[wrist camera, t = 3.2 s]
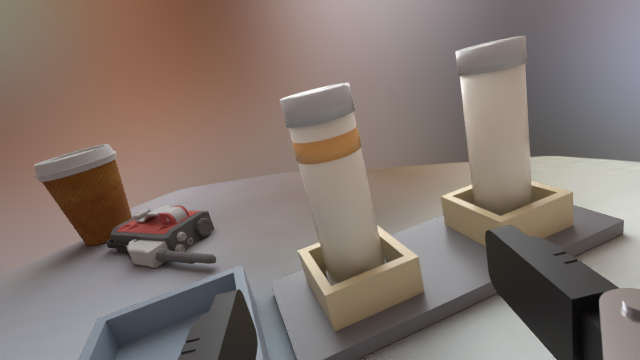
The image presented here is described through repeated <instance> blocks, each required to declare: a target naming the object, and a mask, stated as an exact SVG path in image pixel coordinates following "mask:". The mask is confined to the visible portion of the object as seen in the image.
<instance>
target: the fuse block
mask: <svg viewBox="0 0 640 360" xmlns="http://www.w3.org/2000/svg"><path fill="white" fill-rule="evenodd" d="M531 185H532V203H531V204H529V205H526V206H524V207H521V208H519V209H517V210H514V211H512V212H509V213H507V214H504V215H502V216H499V215H497V214H495V213H492V212H490V211H487V210H485V209H483V208H480V207H478V206H475V205H474V200H473V191H472V185H470V186H467V187H464V188H462V189H459V190H456V191H454V192H451V193H449V194H446V195H443V196H441V200H442V208H443V215H441V216H438V217H436V218H433V219H431V220H428V221H426V222H423V223H421V224H418V225H416V226H413V227H411V228H408V229H405V230H403V231H400V232H398V233H395V234H393V235H389V234H388V233H387V232H386V231H384V230H383V229H382V228H380V227H379V226H378V225H377V227H378V232H379V237H380V242H381V247H382V252H383V256H384V258H385V259H386V264H384V265H381V266H379V267H376V268H374V269H371V270H369V271H367V272H364V273H362V274H359V275H357V276H355V277H352V278H350V279H347V280H345V281H342V282H340V283H338V284H335V285H333V286H331V285H330V283H329V282H328V278H327V274H326V270H327V269H326V265H325V261H324V258H323V254H322V250H321V246H320V243H317V244H314V245H311V246H309V247H306V248H303V249H301V250H298V253H299V256H300V260H301V263H302V266H303V270H301V271H299V272H296V273H294V274H291V275H289V276H286V277H284V278H281V279H279V280H276V281H273V282H271V283H270V284H271V287H272V290H273V293H274V296H275V299H276V301H277V304H278V307H279V310H280V313H281V316H282V319H283V321H284V324H285V327H286V330H287V333H288V336H289V339H290V341H291V344H292V347H293V350H294V353H295V356H296V358H297V360H358V359H360V358H362V357H364V356H366V355H368V354H370V353H372V352H374V351H377V350H379V349H381V348H383V347H385V346H387V345H389V344H391V343H393V342H396V341H398V340H400V339H402V338H404V337H406V336H408V335H410V334H412V333H414V332H417V331H419V330H421V329H423V328H425V327H427V326H429V325H431V324H433V323H436V322H438V321H440V320H442V319H444V318H446V317H448V316H450V315H452V314H454V313H457V312H459V311H461V310H463V309H465V308H467V307H469V306H471V305H473V304H476V303H478V302H480V301H482V300H484V299H486V298H488V297H490V296H492V295H495V294H497V291H496V290H495V288H494V286H493V284H492V282H491V280H490V277H489V272H488V262H487V252H486V242H485V233H486V231H487V230H490V229H494V228H499V227H503V226H507V225H513V226H515V227H516V228H518V229H519V230H520V231H522V232H523V233H524V234H526V235H527V236H528V237H531V236H536V237H539V238H542V239H545V240H548V241H551V242H553V243H554V244H556V245H557V246H559V247H560V248H562V249H563V250H564V251H566V253H569V254H570V255H572V256H573V257H575V256H577V255H579V254H581V253H583V252H585V251H587V250H589V249H591V248H594V247H596V246H598V245H600V244H602V243H604V242H606V241H608V240H610V239H612V238H615V237H617V236H619V235H621V234H623V226H624V220H621V219H618V218H615V217H611V216H608V215H605V214H601V213H598V212H595V211H592V210H588V209H585V208H582V207H578V206H575V205H573V192H571V191H567V190H563V189H560V188H556V187H552V186H548V185H545V184H541V183H537V182H534V181H531Z"/></svg>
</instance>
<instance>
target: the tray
mask: <svg viewBox="0 0 640 360" xmlns="http://www.w3.org/2000/svg"><path fill="white" fill-rule="evenodd" d="M238 289H239V290H241V291H242V293H243V295H244V298H245V301H246V303H247V306H248V309H249V312H250V314H251V317H252V320H253V323H254V325H255V328H256V333H257V340H258V347H257V355H256V360H269V357H268V353H267V349H266V345H265V341H264V337H263V333H262V329H261V325H260V321H259V316H258V312H257V308H256V304H255V300H254V297H253V294H252V291H251V288H250V285H249V283H248V280H247V277H246V274H245V271H244V268H243V266H242V265H239V266H237V267H234V268H231V269H229V270H226V271H223V272H221V273H218V274H215V275H213V276H210V277H207V278H205V279H202V280H199V281H197V282H194V283H191V284H189V285H186V286H183V287H181V288H178V289H175V290H173V291H170V292H167V293H165V294H162V295H159V296H157V297H154V298H151V299H149V300H146V301H143V302H141V303H138V304H135V305H133V306H130V307H127V308H125V309H122V310H119V311H117V312H114V313H111V314H108V315H106V316H103V317H100V318H98V319H97V321H96V323H95V325H94V327H93V329H92V331H91V334H90V336H89V338H88V340H87V342H86V344H85V346H84V348H83V351H82V353H81V355H80V357H79V359H78V360H178V358H179V356H180V355H181V350H182V348H183V346H184V344H186V342H185V341H186V338H187V336H188V334H189V331H190V329H191V327H192V326H193V325H194V324H195V322H196V321H197V320H198V319H199V318H200V317H201V315H202V314H207V313H209V312H210V309H211V306H212V303H213V301H214V298H215V296H216V295H217V294H222V293H226V292H230V291H234V290H238Z"/></svg>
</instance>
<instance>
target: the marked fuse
mask: <svg viewBox="0 0 640 360" xmlns="http://www.w3.org/2000/svg"><path fill="white" fill-rule="evenodd" d="M279 101H280V105H281V108H282V112H283V116H284V119H285V123H286V127H288V128H289V131H290V135H291V139H292V141H291V142H292V146H293V149H294V153H295V156H296V160H297V162H298V164H299V168H300V172H301V176H302V179H303V183H304V187H305V191H306V194H307V198H308V202H309V205H310V209H311V213H312V217H313V220H314V224H315V228H316V231H317V235H318V239H319V243H320V246H321V250H322V254H323V258H324V261H325V265H326V269H327V270H326V274H327V278H328V282H329V283H330V285H331V286H333V285H335V284H338V283H340V282H342V281H345V280H347V279H350V278H352V277H355V276H357V275H359V274H362V273H364V272H367V271H369V270H371V269H374V268H376V267H379V266H381V265H384V264H386V259H385V258H384V256H383V252H382V247H381V242H380V237H379V232H378V227H377V223H376V218H375V213H374V208H373V203H372V199H371V194H370V189H369V184H368V179H367V175H366V170H365V165H364V160H363V156H362V151H361V142H360V137H359V132H358V127H357V125H356V122H355V117H354V111H355V108H354V104H353V99H352V94H351V89H350V84H349V83H340V84H335V85H330V86H325V87H321V88H317V89H313V90H309V91H305V92H302V93H298V94H294V95H291V96H288V97H285V98H282V99H280V100H279Z"/></svg>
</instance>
